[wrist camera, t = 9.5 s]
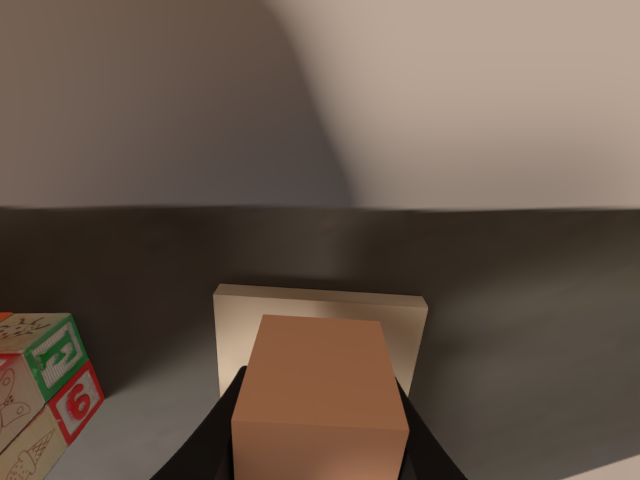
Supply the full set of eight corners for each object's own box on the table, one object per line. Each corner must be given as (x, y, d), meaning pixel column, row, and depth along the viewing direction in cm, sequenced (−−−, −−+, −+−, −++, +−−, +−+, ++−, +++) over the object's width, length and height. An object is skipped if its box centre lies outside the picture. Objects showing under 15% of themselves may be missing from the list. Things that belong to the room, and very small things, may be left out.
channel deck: (379, 491, 21) (389, 559, 18) (232, 483, 21) (215, 550, 18) (422, 296, 16) (448, 344, 12) (219, 283, 16) (192, 328, 12)
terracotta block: (365, 406, 14) (384, 532, 9) (263, 400, 13) (237, 526, 9) (380, 321, 12) (409, 430, 8) (263, 314, 12) (231, 420, 8)
